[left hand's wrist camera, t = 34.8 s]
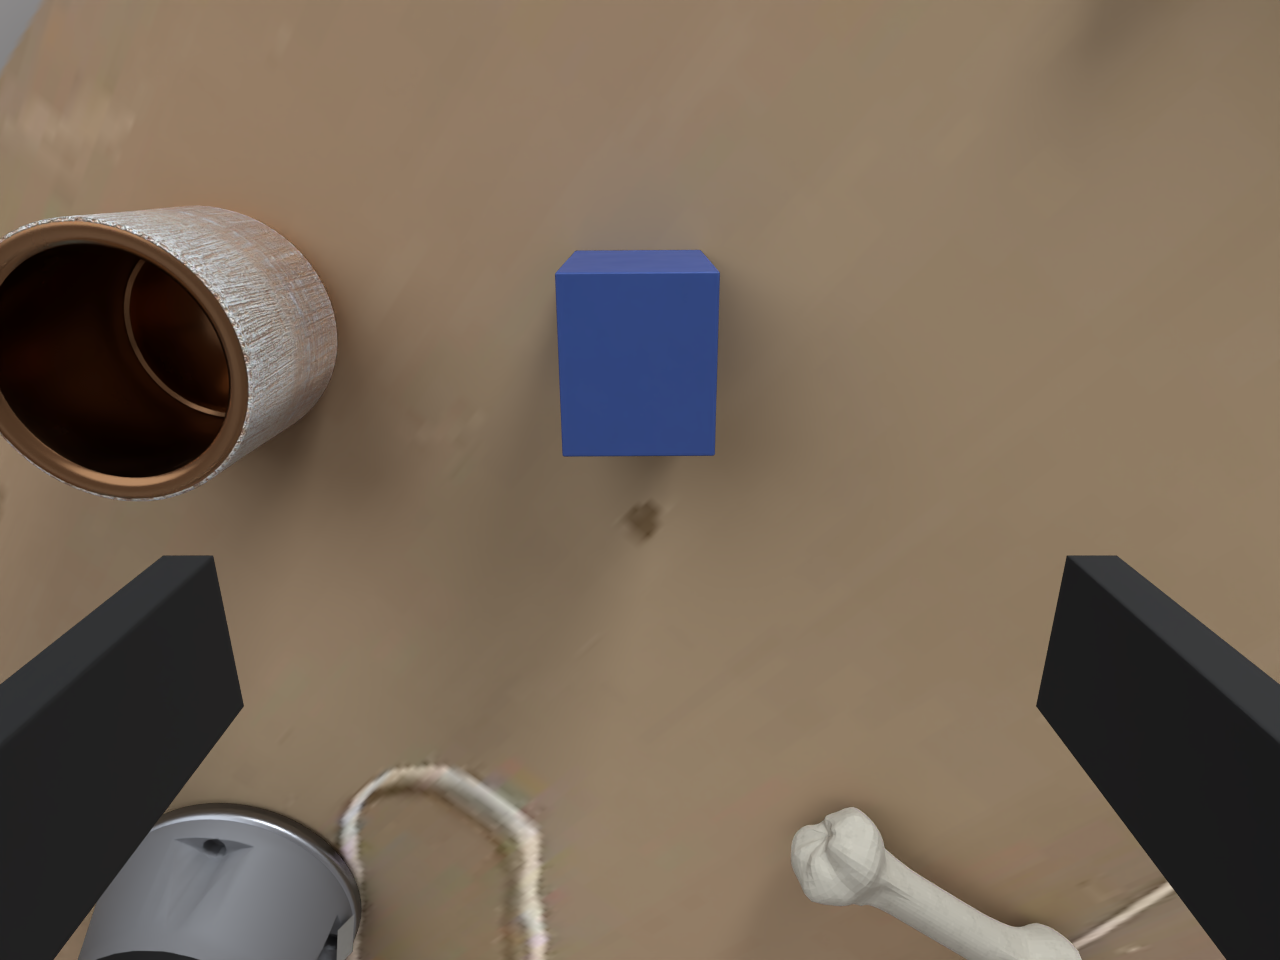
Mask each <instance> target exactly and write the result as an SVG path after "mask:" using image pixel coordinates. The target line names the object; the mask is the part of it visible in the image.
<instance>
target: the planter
mask: <svg viewBox="0 0 1280 960" xmlns="http://www.w3.org/2000/svg"><path fill="white" fill-rule="evenodd" d="M337 349H338V335H337V325H336V319H335V314H334V310H333V307H332V304H331V301H330V298H329V296H328V293H327V291H326V289H325V287H324V285H323V283H322V281H321V279H320V277H319V276H318V274H317V273H316V271H315V270H314V268H313V267H312V265H311V264H310V263H309V261H308V260H307V259H306V258H305V257H304V255H303V254H302V253H301V252H300V251H299V250H298V249H297V248H296V247H295V246H294V245H293V244H292V243H291V242H290V241H288V240H287V239H286V238H285V237H283V236H282V235H281V234H279V233H278V232H277V231H275V230H274V229H272V228H271V227H269V226H267V225H266V224H264V223H262V222H260V221H258V220H256V219H254V218H251V217H249V216H246V215H244V214H241V213H238V212H234V211H230V210H226V209H222V208H216V207H210V206H180V207H169V208H159V209H148V210H139V211H128V212H117V213H105V214H92V215H78V216H66V217H56V218H50V219H45V220H40V221H37V222H33V223H30V224H27V225H25V226H22V227H20V228H18V229H16V230H14V231H12V232H10V233H8V234H7V235H5V236H4V237H2V238H1V239H0V434H1V435H2V437H3V438H4V439H5V440H6V441H7V442H8V443H9V444H10V445H11V446H12V447H13V448H14V449H15V450H16V451H17V452H19V453H20V454H21V455H22V456H23V457H24V458H26V459H27V460H28V461H29V462H31V463H32V464H33V465H35V466H36V467H37V468H39V469H40V470H42V471H43V472H45V473H47V474H48V475H50V476H52V477H53V478H55V479H57V480H59V481H61V482H63V483H65V484H67V485H69V486H71V487H74V488H76V489H79V490H81V491H84V492H87V493H90V494H93V495H97V496H101V497H105V498H110V499H116V500H124V501H152V500H160V499H166V498H170V497H174V496H177V495H180V494H183V493H186V492H188V491H190V490H193V489H195V488H197V487H199V486H200V485H202V484H204V483H206V482H207V481H209V480H210V479H212V478H213V477H215V476H216V475H218V474H219V473H221V472H222V471H223V470H225V469H226V468H228V467H229V466H231V465H232V464H234V463H235V462H237V461H238V460H239V459H241V458H242V457H244V456H245V455H247V454H248V453H250V452H251V451H253V450H255V449H256V448H258V447H259V446H261V445H262V444H264V443H265V442H267V441H268V440H270V439H272V438H273V437H275V436H276V435H278V434H279V433H281V432H282V431H284V430H285V429H287V428H288V427H290V426H291V425H293V424H294V423H296V422H297V421H298V420H300V419H301V418H302V417H303V416H305V415H306V414H307V413H308V412H309V411H310V410H311V408H312V407H313V406H314V405H315V404H316V402H317V401H318V400H319V398H320V397H321V395H322V394H323V392H324V391H325V389H326V387H327V385H328V383H329V381H330V379H331V376H332V374H333V370H334V367H335V362H336V357H337Z"/></svg>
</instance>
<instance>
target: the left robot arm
mask: <svg viewBox="0 0 1280 960" xmlns="http://www.w3.org/2000/svg"><path fill="white" fill-rule="evenodd" d="M243 707H244V705H243V700H242V695H241V690H240V685H239V680H238V675H237V670H236V666H235V661H234V656H233V651H232V646H231V641H230V636H229V631H228V626H227V621H226V616H225V612H224V607H223V602H222V597H221V592H220V587H219V582H218V577H217V572H216V567H215V562H214V558H213V556H162V557H161V558H160V559H158V560H157V561H156V562H155V563H153V564H152V565H151V566H150V567H148V568H147V569H146V570H144V571H143V572H142V573H141V574H139V575H138V576H137V577H136V578H134V579H133V580H132V581H131V582H129V583H128V584H127V585H126V586H124V587H123V588H122V589H120V590H119V591H118V592H117V593H115V594H114V595H113V596H112V597H110V598H109V599H108V600H107V601H105V602H104V603H103V604H102V605H100V606H99V607H98V608H96V609H95V610H94V611H93V612H91V613H90V614H89V615H88V616H86V617H85V618H84V619H83V620H81V621H80V622H79V623H77V624H76V625H75V626H74V627H72V628H71V629H70V630H69V631H67V632H66V633H65V634H64V635H62V636H61V637H60V638H59V639H57V640H56V641H55V642H53V643H52V644H51V645H50V646H48V647H47V648H46V649H45V650H43V651H42V652H41V653H40V654H38V655H37V656H36V657H35V658H33V659H32V660H31V661H29V662H28V663H27V664H26V665H24V666H23V667H22V668H21V669H19V670H18V671H17V672H16V673H14V674H13V675H12V676H11V677H9V678H8V679H7V680H5V681H4V682H3V683H2V684H0V960H54V958H55V957H56V956H57V954H58V953H59V952H60V950H61V949H62V948H63V946H64V945H65V944H66V942H67V941H68V940H69V938H70V937H71V936H72V934H73V933H74V932H75V930H76V929H77V928H78V926H79V925H80V924H81V922H82V921H83V920H84V918H85V917H86V916H87V914H88V913H89V912H90V910H91V909H92V908H93V906H94V905H95V904H96V906H95V909H94V912H93V915H92V918H91V921H90V924H89V927H88V930H87V933H86V936H85V939H84V943H83V946H82V949H81V952H80V955H79V958H78V960H346V958H347V957H348V956H349V955H350V954H351V953H352V951H353V942H354V939H355V936H356V933H357V931H358V928H359V924H360V919H361V900H360V895H359V890H358V887H357V884H356V882H355V879H354V877H353V875H352V873H351V871H350V870H349V868H348V866H347V865H346V863H345V862H344V861H343V859H342V858H341V857H340V856H339V855H338V853H337V852H336V851H335V850H334V849H333V848H332V847H331V846H330V845H329V844H328V843H327V842H325V841H324V840H323V839H322V838H320V837H319V836H318V835H317V834H315V833H314V832H312V831H311V830H309V829H308V828H306V827H304V826H303V825H301V824H299V823H297V822H295V821H293V820H291V819H289V818H287V817H284V816H282V815H279V814H277V813H274V812H271V811H268V810H264V809H261V808H257V807H252V806H247V805H239V804H229V803H208V804H198V805H192V806H187V807H183V808H180V809H176V810H173V811H171V812H168V813H165V814H163V813H164V812H165V810H166V809H167V808H168V806H169V805H170V804H171V802H172V801H173V800H174V798H175V797H176V796H177V794H178V793H179V792H180V790H181V789H182V788H183V786H184V785H185V784H186V782H187V781H188V780H189V778H190V777H191V776H192V774H193V773H194V772H195V770H196V769H197V768H198V766H199V765H200V764H201V762H202V761H203V760H204V758H205V757H206V756H207V754H208V753H209V752H210V750H211V749H212V748H213V747H214V745H215V744H216V743H217V741H218V740H219V739H220V737H221V736H222V735H223V733H224V732H225V731H226V729H227V728H228V727H229V725H230V724H231V723H232V721H233V720H234V719H235V717H236V716H237V715H238V713H239V712H240V711H241V709H242V708H243ZM1036 707H1037V708H1038V709H1039V711H1040V712H1041V713H1042V715H1043V716H1044V717H1045V719H1046V720H1047V721H1048V723H1049V724H1050V725H1051V727H1052V728H1053V729H1054V731H1055V732H1056V733H1057V735H1058V736H1059V737H1060V739H1061V740H1062V741H1063V743H1064V744H1065V745H1066V747H1067V748H1068V749H1069V750H1070V752H1071V753H1072V754H1073V756H1074V757H1075V758H1076V760H1077V761H1078V762H1079V764H1080V765H1081V766H1082V768H1083V769H1084V770H1085V772H1086V773H1087V774H1088V776H1089V777H1090V778H1091V780H1092V781H1093V782H1094V784H1095V785H1096V786H1097V788H1098V789H1099V790H1100V792H1101V793H1102V794H1103V796H1104V797H1105V798H1106V800H1107V801H1108V802H1109V804H1110V805H1111V806H1112V808H1113V809H1114V810H1115V812H1116V813H1117V814H1118V816H1119V817H1120V818H1121V820H1122V821H1123V822H1124V824H1125V825H1126V826H1127V828H1128V829H1129V830H1130V832H1131V833H1132V834H1133V836H1134V837H1135V838H1136V840H1137V841H1138V842H1139V844H1140V845H1141V846H1142V848H1143V849H1144V850H1145V852H1146V853H1147V854H1148V856H1149V857H1150V858H1151V860H1152V861H1153V862H1154V864H1155V865H1156V866H1157V868H1158V869H1159V870H1160V872H1161V873H1162V874H1163V876H1164V877H1165V878H1166V880H1167V881H1168V882H1169V884H1170V885H1171V886H1172V888H1173V889H1174V890H1175V892H1176V893H1177V894H1178V896H1179V897H1180V898H1181V900H1182V901H1183V902H1184V904H1185V905H1186V906H1187V908H1188V909H1189V910H1190V912H1191V913H1192V914H1193V916H1194V917H1195V918H1196V920H1197V921H1198V922H1199V924H1200V925H1201V926H1202V928H1203V929H1204V930H1205V932H1206V933H1207V934H1208V936H1209V937H1210V938H1211V940H1212V941H1213V942H1214V944H1215V945H1216V946H1217V948H1218V949H1219V950H1220V952H1221V953H1222V954H1223V956H1224V957H1225V958H1226V960H1280V684H1278V683H1277V682H1276V681H1275V680H1273V679H1272V678H1271V677H1269V676H1268V675H1267V674H1266V673H1264V672H1263V671H1262V670H1261V669H1259V668H1258V667H1257V666H1256V665H1254V664H1253V663H1252V662H1251V661H1249V660H1248V659H1247V658H1245V657H1244V656H1243V655H1242V654H1240V653H1239V652H1238V651H1237V650H1235V649H1234V648H1233V647H1232V646H1230V645H1229V644H1228V643H1227V642H1225V641H1224V640H1223V639H1221V638H1220V637H1219V636H1218V635H1216V634H1215V633H1214V632H1213V631H1211V630H1210V629H1209V628H1208V627H1206V626H1205V625H1204V624H1202V623H1201V622H1200V621H1199V620H1197V619H1196V618H1195V617H1194V616H1192V615H1191V614H1190V613H1189V612H1187V611H1186V610H1185V609H1184V608H1182V607H1181V606H1180V605H1178V604H1177V603H1176V602H1175V601H1173V600H1172V599H1171V598H1170V597H1168V596H1167V595H1166V594H1165V593H1163V592H1162V591H1161V590H1160V589H1158V588H1157V587H1156V586H1154V585H1153V584H1152V583H1151V582H1149V581H1148V580H1147V579H1146V578H1144V577H1143V576H1142V575H1141V574H1139V573H1138V572H1137V571H1136V570H1134V569H1133V568H1132V567H1130V566H1129V565H1128V564H1127V563H1125V562H1124V561H1123V560H1122V559H1120V558H1119V557H1118V556H1067V558H1066V562H1065V567H1064V572H1063V577H1062V582H1061V587H1060V592H1059V597H1058V602H1057V607H1056V612H1055V616H1054V621H1053V626H1052V631H1051V636H1050V641H1049V646H1048V651H1047V656H1046V661H1045V666H1044V670H1043V675H1042V680H1041V685H1040V690H1039V695H1038V700H1037V705H1036ZM162 814H163V815H162ZM96 902H97V903H96Z"/></svg>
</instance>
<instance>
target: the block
mask: <svg viewBox="0 0 1280 960" xmlns="http://www.w3.org/2000/svg"><path fill="white" fill-rule="evenodd" d="M555 283H556V308H557V332H558V356H559V380H560V404H561V429H562V453H563V456H713V455H714V454H715V427H716V391H717V355H718V319H719V283H720V273H719V271H718V270H717V269H716V268H715V267H714V265H713V264H712V263H711V262H710V261H709V260H708V258H707V257H706V256H705V255H704V254H703V253H702V251H701V250H620V251H575V252H574V253H573V254H572V255H571V257H570V258H569V259H568V260H567V261H566V262H565V263H564V264H563V265H562V267H561V268H560V269H559V270H558V271H557V272H556V273H555Z"/></svg>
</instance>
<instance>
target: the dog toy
mask: <svg viewBox="0 0 1280 960" xmlns="http://www.w3.org/2000/svg"><path fill="white" fill-rule="evenodd" d="M791 864H792V867H793V871H794V873H795V875H796V877H797V879H798V881H799V883H800V884H801V887H802V889H803V892H804V893H805V895H806V896H807V897H808V898H809V899H810V900H811V901H812V902H816V903H820V904H824V905H834V906H846V905H851V904H856V905H860V906H863V905H871V906H873V907H876V908H879V909H881V910H883V911H885V912H887V913H888V914H890V915H892V916H894V917H895V918H897V919H899V920H901V921H902V922H904V923H906V924H907V925H909V926H911V927H913V928H914V929H916V930H918V931H919V932H921V933H923V934H925V935H926V936H928V937H930V938H931V939H933V940H935V941H937V942H938V943H940V944H942V945H943V946H945V947H947V948H948V949H950V950H952V951H954V952H955V953H957V954H959V955H960V956H962V957H964V958H966V959H967V960H1082V959H1081V956H1080V954H1079V952H1078V950H1077V949H1076V948H1075V947H1074V945H1073V944H1072V943H1071V942H1070V941H1069V940H1068V939H1067V938H1065V937H1064V936H1063V935H1061V934H1060V933H1058V932H1057V931H1056V930H1054V929H1052V928H1050V927H1048V926H1046V925H1043V924H1039V923H1033V924H1028V925H1025V926H1022V927H1013V926H1010V925H1007V924H1004V923H1002V922H1000V921H997V920H995V919H993V918H991V917H989V916H987V915H985V914H983V913H981V912H980V911H978V910H976V909H975V908H973V907H971V906H970V905H968V904H966V903H965V902H963V901H961V900H960V899H958V898H956V897H955V896H953V895H951V894H950V893H948V892H947V891H945V890H943V889H942V888H940V887H938V886H937V885H935V884H933V883H932V882H930V881H928V880H927V879H925V878H923V877H922V876H920V875H919V874H917V873H916V872H914V871H913V870H911V869H910V868H908V867H907V866H906V865H904V864H903V863H902V862H901V861H899V860H898V859H897V858H896V857H894V856H893V855H892V854H891V853H890V852H889V851H887V850H886V849H885V847H884V842H883V839H882V836H881V834H880V832H879V830H878V828H877V827H876V826H875V824H874V823H873V822H872V821H871V819H870V818H869V817H868V816H867V815H866V814H864V813H863V812H862V811H860V810H859V809H857V808H854V807H849V808H844V809H842V810H840V811H838V812H835V813H831V814H829V815H827V816H826V817H825V819H824V820H823V821H822V822H821V823H819V824H816V825H807V826H804V827H802V828H801V829H800V830H798V831H797V833H796V834H795V836H794V838H793V841H792V846H791Z"/></svg>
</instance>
